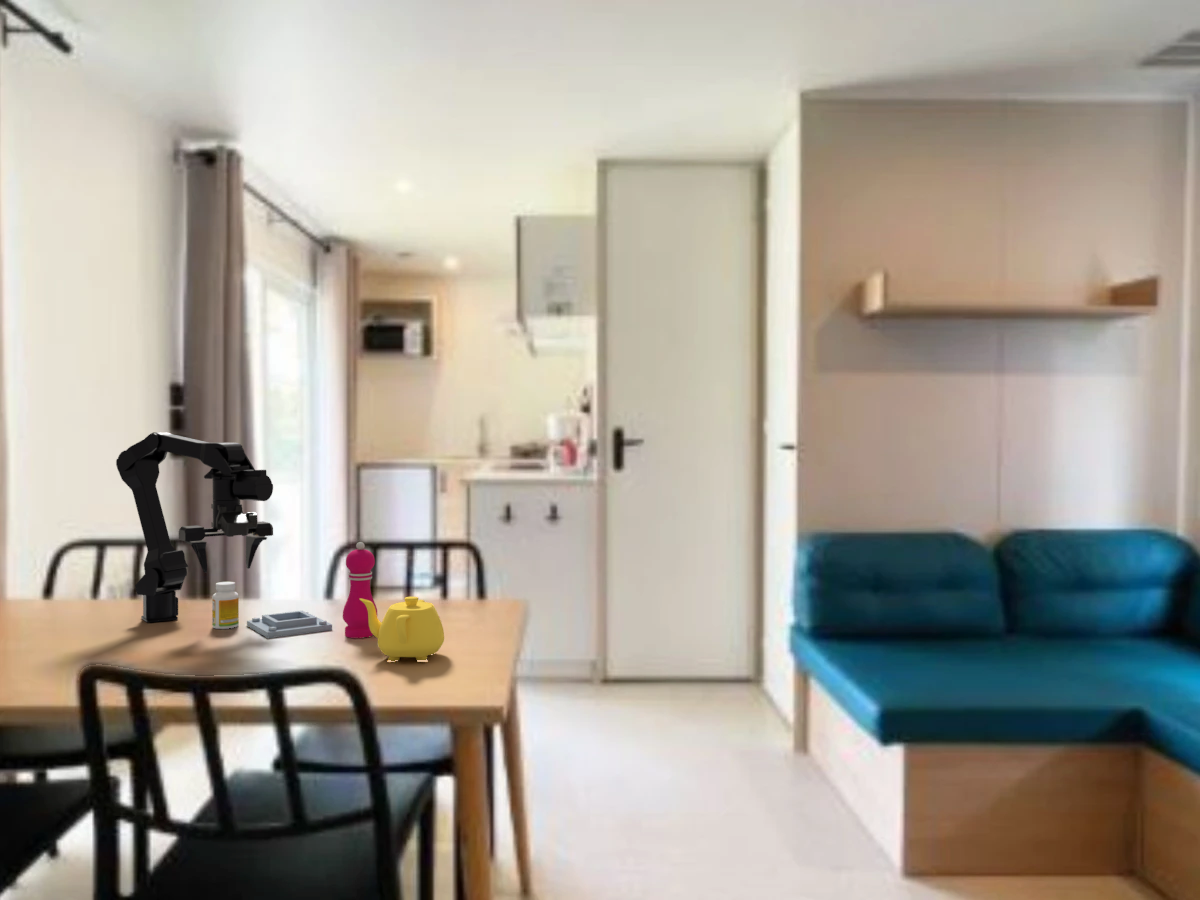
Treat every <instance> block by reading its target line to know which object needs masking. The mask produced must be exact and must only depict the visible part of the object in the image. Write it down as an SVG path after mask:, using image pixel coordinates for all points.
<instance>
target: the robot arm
mask: <svg viewBox="0 0 1200 900" xmlns="http://www.w3.org/2000/svg"><path fill="white" fill-rule="evenodd" d="M168 453H170V454H174V455H175V454H176V455H180V456H183V457H187V458H193V459H196V460H198V461H200V462H201V463H202V464H204V466H207V467H209V468H210V470H209V471H208V472H207V473H206V474H205V475H204V476H203V478H204V479H206V480H207V479H208V480H212V484H211V485H212V488H211V489H212V503H211V507H210V508H211V509H212V522H211V527H210V528H207V527H206V528H205V527H204V526H201V525H182V526H180V528H179V529H178V540H180V541H182V542H184V543H185V544H188V545H191V547H192V549H193V551H194V553H195V554H196V557H197V559H198V562H199V564H200V566H201V569H202V571H203V572H204V574H205V573H206V574H207V572H208V563H207V562H208V561H207V560H208V559H207V550H206V548H207V541H205V540H204V538H206V537H225V536H226V537H229V538H231V537H234V536H235V537H236V536H242V537H245V565H246V569H251V567H252V563H253V560H254V558H255V556H256V552H257V550H258V549H259V545H260V544H261V543H262V542H263V541H267V540H268V537H272V536H274V527H273V525H272V524H271V522H266V521H258V514H257V512H255V511H251V512H249V511H247V512H246V513H244V512H243V505H242V504H241V501H250V502H251V501H253V502H254V501H255V502H266V501H268V500H269V499H270V498H271V497H272V494H273V491H274V484H273V482H272V480H271V477H270V476H268V474H267V469H255V467H254V466H253V464H252V463H251V460H250V459H249V458H248V456H247V454H246V452H245V450H244V448H243V445H242V444H241V443H239V442H208V441H203V440H199V439H196V438H195V439H194V438H190V437H185V436H182V435H176V434H172V433H170V432H168V431H167V432H166V431H165V432H160V431H159V432H152V433H150V434H148V435H147V436H146V437H144V439H142V440H140V441H138V442H136V443H135V444H132V445H130V446H129V447H127V449H126V450H122V451H121V452H120V453H119V455H118V457H117V458H116V460H115V465H116V468H117V471H118V474H119V476H120V478H121V480H122V481H123V482H124V484H126V485H127V487H129V489H130V490H131V492H132V494H133V499H134V503H135V507H136V510H137V514H138V518H139V521H140V526H141V530H142V534H143V538H144V541H145V546H146V548H147V549H146V550H147V553H146V555H145V560H144V562H143V567H144V569H143V570H144V573H143V576H142V577H141V578H140V579H139V580H138V581H137V583H135V585H134V588H135V591H136V595H138V596H139V595H140V596H142V609H143V610H142V615H141V617H140V618H141V619H142V620H143V621H144V622H145V623H156V622H167V621H173V620H179V617H178V616H179V597H177V595H176V594H177V593H176V592H177V591H181V590H182V588H183V584H184V583H185V582H184V581H185V579H186V577H187V575H188V570H187V568H189V565H188V563H187V562H186V557H185V552H184V551H183V549H180V550H177V549H176V548H175V547H173V545H172V542H171V539H170V536H169V531H168V529H167V524H166V520H165V515H164V512H163V509H162V504H161V501H160V497H159V493H158V489H157V482H158V479H159V476H160V467H159V466H160V465H161V463H162V462H164V460H165V459H167V458H166V457H167V455H168Z"/></svg>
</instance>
